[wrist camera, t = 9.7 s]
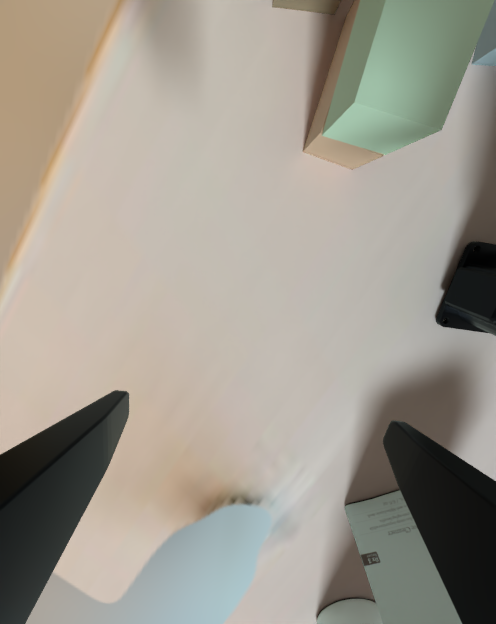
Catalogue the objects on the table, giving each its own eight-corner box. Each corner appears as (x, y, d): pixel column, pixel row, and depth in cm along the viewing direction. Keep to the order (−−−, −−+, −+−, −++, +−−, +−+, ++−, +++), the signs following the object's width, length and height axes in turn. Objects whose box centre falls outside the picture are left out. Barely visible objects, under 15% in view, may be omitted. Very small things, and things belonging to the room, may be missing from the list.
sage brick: (375, -54, 11) (445, -196, 7) (450, -25, 11) (554, -146, 8) (321, 135, 13) (354, 102, 9) (385, 154, 14) (441, 129, 10)
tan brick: (346, 15, 15) (383, -55, 11) (401, 40, 15) (455, -20, 11) (302, 152, 17) (320, 132, 13) (352, 169, 17) (383, 156, 14)
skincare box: (416, 481, 27) (607, 763, 13) (427, 517, 29) (602, 797, 15) (338, 506, 28) (438, 794, 14) (353, 539, 30) (454, 823, 16)
